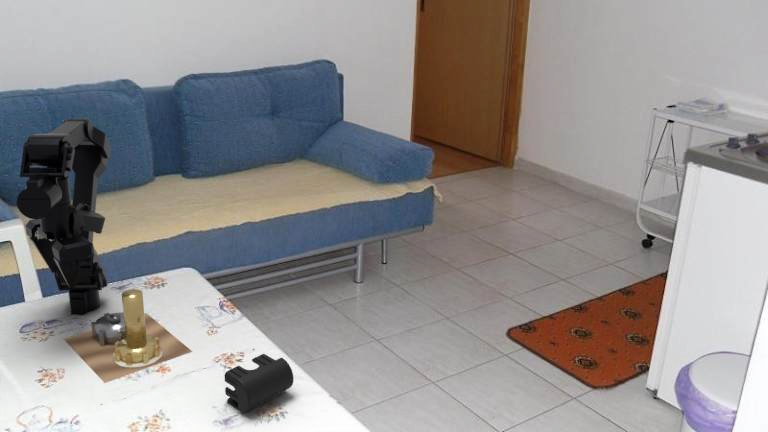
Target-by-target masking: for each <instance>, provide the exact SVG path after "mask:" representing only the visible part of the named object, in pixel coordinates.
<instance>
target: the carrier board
mask: <svg viewBox="0 0 768 432" xmlns="http://www.w3.org/2000/svg"><path fill="white" fill-rule="evenodd" d="M144 315H145V326H146V334H148V336H151V337H153V338H155V337H158V338H159V345H160V348H159V350H160V355H159V356H158V357H154V358H152V359H151V360H149V363H146V364H144V363H137V364H132V365H126V363H125V362H122V361H116V360H115V353H114V350H115V345H106V346H105V347H104V346H100V343H99V342H98V341H97V340H96V338H93V336H92V329H90V330H87V331H84V332H81V333H78V334H75V335H72V336H71V335H70V336H68V337H65V338H63V341H64V342H65V343H67V344H68V345H69V347H70V348H71V349H72V350H73V351H74V352H75V353H76V354H77V355H78V356H79V357H80V359H81V360H83V361H84V363H86V365H87V366H88V367H89V368H90V369H91V370H92V371H93V372H94V373H95V375H97V376H98V377H99V378H100V379H101V380H102V382H103V383H104V384H106V383H109V382H111V381H114V380H117V379H120V378H122V377H125V376H129V375H131V374H133V373H137V372H139V371H142V370H144V369H147V368H148V369H149V368H151V367H153V366H156V365H159V364H161V363H165V362H167V361H170V360H173V359H176V358H179V357H182V356H184V355H188V354H190V353H192V352H193V350H191V349H190V348H189V347H188V346H186V344H185V343H183V342H182V341H180V340H179V339H178V338H177V337H176V336H175V335H173V334H172V333H171V332H170V331H168V330H167V329H166V328H165V327H164V326H163V325H161V324H160V323H159V322H158V321H157V320H155V319H154V318H153V317H152V316H151V315H149V314H148V313H146V312H144Z"/></svg>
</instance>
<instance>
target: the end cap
mask: <svg viewBox="0 0 768 432" xmlns="http://www.w3.org/2000/svg"><path fill="white" fill-rule="evenodd" d="M251 362H253V363H254V364H255V365H257V366H258V367H256V368H255V369H254V368H253V369H246V368H243V367H242V366H240V365H237V366H235V367H233V368H230V369H229V370H227V371H225V373H224V382H226V384H228V385H230V386H232V387H233V388H234V390H233V389H231V388H230V387H228V386H226V387H225V388H224V393H225V395H226V396H227V397H228V398H227V400H226V401H227V402H226V403H227V404H228V405H229V406H230V407H232V408H234V409H235V410H237V411H238V412H240V413H246V412H248V411H250V410H253V408H256V407H258V406H259V405H262V404H263V403H265V402H268V401H269V400H271V399H272V398H274V397H277V396H278V395H280V394H282V393H284V392H286V391H287V390H289V389H291V387H292V386H293V385H294V379H295V378H294V373H293V369H292V367H291V366H290V363H289V362H287V360H285V359H284V358H283V357H279V358H277V359H274V358H272V357H270V356H268V355H267V354H265V353H263V354H262V353H261V354H259V355H257V356H255V357H254V358H252V359H251Z"/></svg>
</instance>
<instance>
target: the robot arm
mask: <svg viewBox="0 0 768 432" xmlns="http://www.w3.org/2000/svg"><path fill="white" fill-rule="evenodd" d="M111 154H112V147H111V143H110V140H109V138H108V136H107V134H106V133H105V132H104V131H102V130H100V129H99V128H97V127H96V126H94V123H93V122H92V120H91V119H88V118H68V119H64V120H63V122H62V124H60V125H59V126H58V127H56V128H54V129H53V130H52V131H50V132H47V133H35V134H34V133H33V134H30V135H28V137H27V139H26V140H25V141H24V143H23V147H22V156H21V164H20V172H19V177H20V178H28V179H27V180H26V182H25V184H26V187H25V188H23V189H22V190H21V191H20V192H19V193H18V195H17V198H16V207H17V209H18V211H19V212H20V213H21V214H22V215H23V216H24V217H26V218H28V219H29V220H28V222H27V223H26V224H25V232H26V235H27V236H28V237H29V240H30V241H31V243H32V244H33V246H34V248H35V249H36V251H37V252H38V253H39V254H40V256H41V258H42V259H43V261H44V262H45V264H46V266H47V268H48V269H49V270H50V272H51V274H52V273H53V274H54V279H55V282H56V284H57V288H58V291H60V292H63V291H68V296H69V297H68V298H69V307H70V314H71V315H75V316H85V315H87V314H88V313H92V312H95V311H97V310H98V309H100V307H101V301H100V300H101V299H100V298H101V297H100V291H102V290H103V289H104V288H106V287H108V275H107V270H106V269H105V267H104V266H103V265H102V263H101V262H100V261H101V259H100V258H101V257H100V255H99V254H98V251H97V250H96V249H95V247H94V244H93V241H94V233H95V234H100V235H101V234H103V233H102V232H103V229H104V225H105V222H106V216H104V215H101V214H100V213H99V212H96V206H97V197H98V196H97V195H98V194H97V193H98V183H99V179H100V177H101V176H102V175H103V174H104V173H105V171H106V170H107V169H108V162H109V161H108V160H109V159H110V158H111V156H112V155H111ZM70 172H73V173H74V182H73V190H72V191H73V193H72V194H71V186H70V178H69V173H70ZM71 195H72V197H71Z"/></svg>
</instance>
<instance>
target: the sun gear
mask: <svg viewBox="0 0 768 432" xmlns="http://www.w3.org/2000/svg"><path fill="white" fill-rule="evenodd" d="M90 325H91V330H92V336H93V338H96V340H97V341H98V342H99V343H100V346H104V347H105V346H106V345H115V343H116V342H117V341H121V340H123V339H125V338H126V333H125V323H124V313H123V312H112V313H111V312H110V313H109V312H106V313H103V316H100V317H99V318H97V319H96V321H92V322H91V324H90Z"/></svg>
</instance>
